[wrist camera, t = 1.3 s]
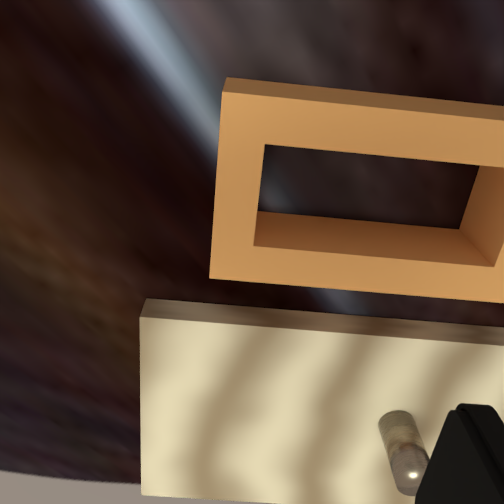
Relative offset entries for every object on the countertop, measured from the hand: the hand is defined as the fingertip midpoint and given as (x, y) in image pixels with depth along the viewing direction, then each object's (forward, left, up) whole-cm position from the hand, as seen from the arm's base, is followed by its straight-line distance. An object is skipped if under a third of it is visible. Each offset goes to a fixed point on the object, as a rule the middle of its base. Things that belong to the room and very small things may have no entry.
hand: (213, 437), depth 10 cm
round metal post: (-12, +16, -16) cm, 26 cm away
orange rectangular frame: (-7, 0, -18) cm, 20 cm away
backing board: (-8, +17, -18) cm, 26 cm away
